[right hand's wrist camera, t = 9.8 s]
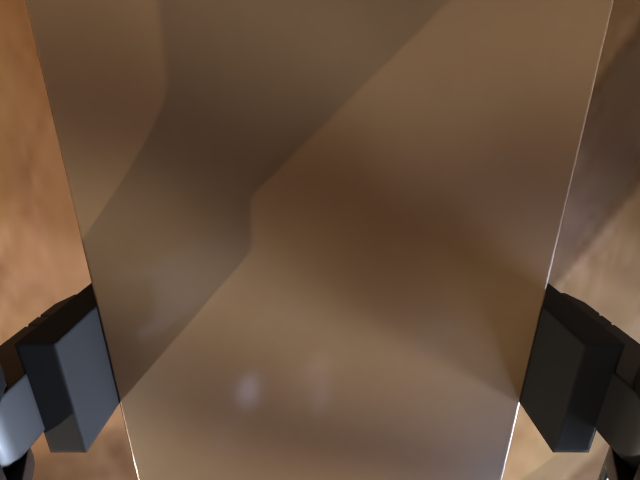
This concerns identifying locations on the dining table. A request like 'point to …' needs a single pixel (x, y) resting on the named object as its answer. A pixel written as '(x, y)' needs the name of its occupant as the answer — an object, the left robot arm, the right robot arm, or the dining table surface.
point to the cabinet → (319, 221)
